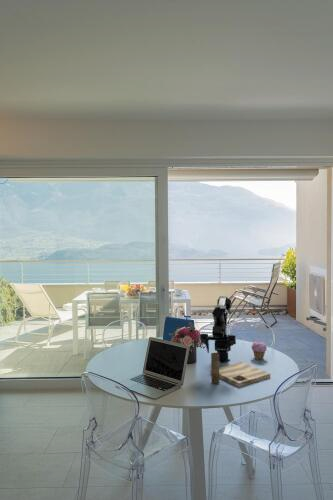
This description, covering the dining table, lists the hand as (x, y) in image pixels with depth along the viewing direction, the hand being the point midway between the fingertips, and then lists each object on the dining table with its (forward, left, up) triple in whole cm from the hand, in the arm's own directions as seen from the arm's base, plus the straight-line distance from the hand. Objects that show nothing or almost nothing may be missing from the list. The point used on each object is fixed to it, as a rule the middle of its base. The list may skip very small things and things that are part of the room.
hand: (216, 353), depth 212 cm
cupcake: (-9, +40, -13) cm, 43 cm away
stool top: (+5, +12, -13) cm, 18 cm away
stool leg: (+5, -5, -13) cm, 15 cm away
